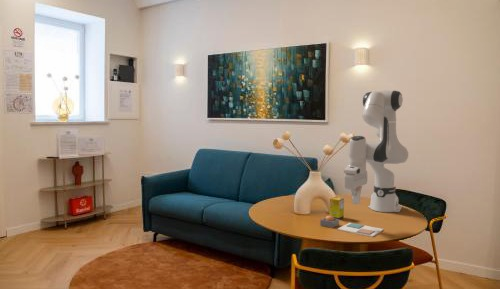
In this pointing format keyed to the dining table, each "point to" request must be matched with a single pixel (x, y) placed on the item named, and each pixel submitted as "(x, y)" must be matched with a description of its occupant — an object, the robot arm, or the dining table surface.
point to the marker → (357, 198)
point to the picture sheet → (360, 229)
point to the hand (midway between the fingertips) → (356, 195)
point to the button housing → (329, 222)
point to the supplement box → (337, 207)
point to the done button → (330, 218)
